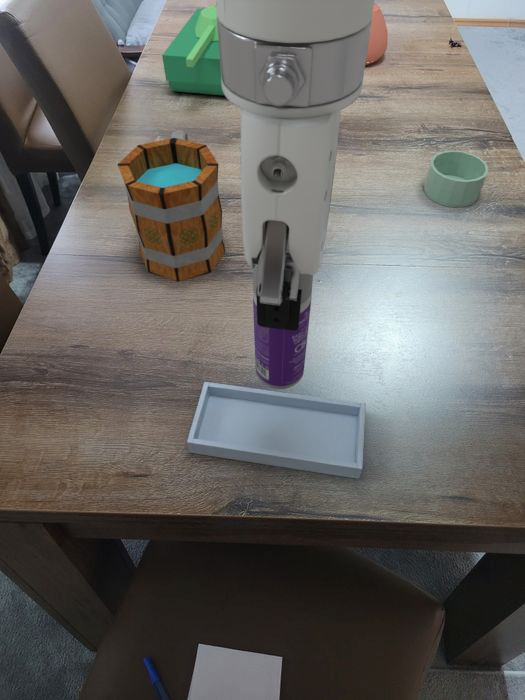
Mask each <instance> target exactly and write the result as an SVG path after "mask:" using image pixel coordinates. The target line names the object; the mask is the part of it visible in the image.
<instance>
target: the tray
mask: <svg viewBox="0 0 525 700" xmlns="http://www.w3.org/2000/svg"><path fill="white" fill-rule="evenodd" d="M365 422H366V403H363V402H356V401H347V400H340V399H333V398H325V397H319V396H311V395H305V394H298V393H289V392H282V391H275V390H268V389H261V388H253V387H247V386H239V385H232V384H226V383H219V382H218V383H217V382H210V381H204V382H203V385H202V389H201V392H200V396H199V399H198V402H197V406H196V409H195V413H194V416H193V420H192V423H191V426H190V430H189V433H188V437H187V439H186V444H187V448H188V452H189V453H190V454H194V455H195V454H196V455H201V456H208V457H213V458H220V459H221V458H222V459H228V460H235V461H241V462H247V463H255V464H261V465H267V466H273V467H279V468H285V469H286V468H287V469H292V470H298V471H306V472H311V473H317V474H323V475H332V476H336V477H337V476H338V477H345V478H350V479H357V480H359V479H360V477H361V475H362V471H363V465H364V463H363V462H364V444H365V425H366V424H365Z"/></svg>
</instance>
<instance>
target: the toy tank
mask: <svg viewBox="0 0 525 700" xmlns="http://www.w3.org/2000/svg"><path fill="white" fill-rule="evenodd" d="M177 33H178V34H177V35H176V36H175V37H174V39H173V40H172V41H171V42H170V44H169V45H168V47H167V48H166V49H165V50H164V52H163V53H162V55H161V57H162V62H163V69H164V76H165V81H167V83H168V86H169V89H170V90H171V91H172V92H180V93H190V94H201V95H213V96H224V97H226V96H225V95H224V93H223V90H222V83H221V69H220V55H219V41H218V26H217V11H216V5H209V6H207V7H205V8H196V9H195V10H194V12H193V13H192V15H191V16H190V17H189V19H188V20H187V21H186V23H185V24H184V26H183V27H182V28H181V29H180V31H179V32H177Z"/></svg>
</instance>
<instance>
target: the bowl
mask: <svg viewBox="0 0 525 700" xmlns="http://www.w3.org/2000/svg"><path fill="white" fill-rule="evenodd" d="M489 171H490V170H489V165H488V163H487V162H486V161H485V160H484V159H483V158H481V157H479V156H477V155H476V154H474V153H471V152H468V151H464V150H457V149H456V150H455V149H451V150H445V151H444V150H443V151H440V152H438V153H436V154H434V155H433V156H432V157H431V159H430V161H429V166H428V168H427V171H426V175H425V178H424V182H423V192H424V194H425V196H426V197H428V199H429V200H431V201H433V202H434V203H435V204H438V205H441V206H445V207H448V208H449V207H450V208H464V207H468V206H470V205H472V204H474V203H476V201H477V200H478V198H479V196H480V194H481V192H482V189H483V186H484V184H485V182H486V180H487V177H488V174H489Z"/></svg>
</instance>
